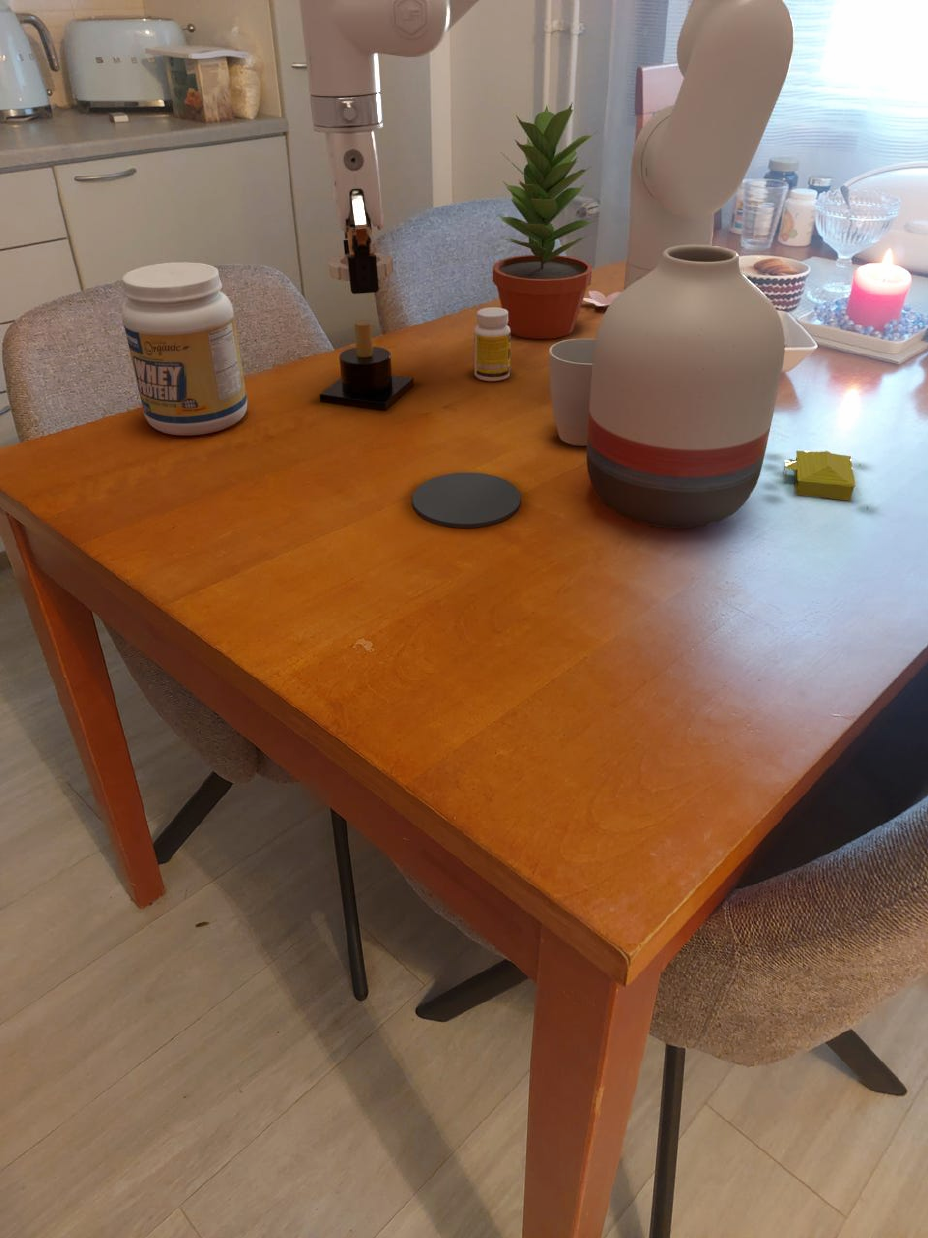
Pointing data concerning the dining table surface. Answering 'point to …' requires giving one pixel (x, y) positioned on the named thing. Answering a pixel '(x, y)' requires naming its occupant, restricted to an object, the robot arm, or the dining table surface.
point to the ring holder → (366, 375)
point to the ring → (341, 269)
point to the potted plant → (544, 237)
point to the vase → (684, 391)
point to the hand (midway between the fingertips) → (362, 281)
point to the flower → (601, 298)
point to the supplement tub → (184, 348)
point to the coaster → (466, 500)
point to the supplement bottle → (492, 344)
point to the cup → (571, 388)
